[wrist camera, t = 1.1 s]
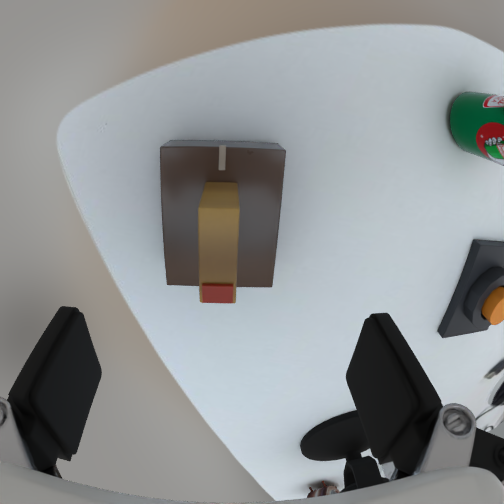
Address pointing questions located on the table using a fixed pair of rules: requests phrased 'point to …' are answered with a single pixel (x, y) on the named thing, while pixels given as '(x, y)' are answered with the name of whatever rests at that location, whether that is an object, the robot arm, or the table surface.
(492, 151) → the soda can
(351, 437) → the microphone
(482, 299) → the block
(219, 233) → the lock knob
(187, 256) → the plate
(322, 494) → the alarm clock
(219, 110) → the table surface
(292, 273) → the table surface
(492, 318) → the bell button
